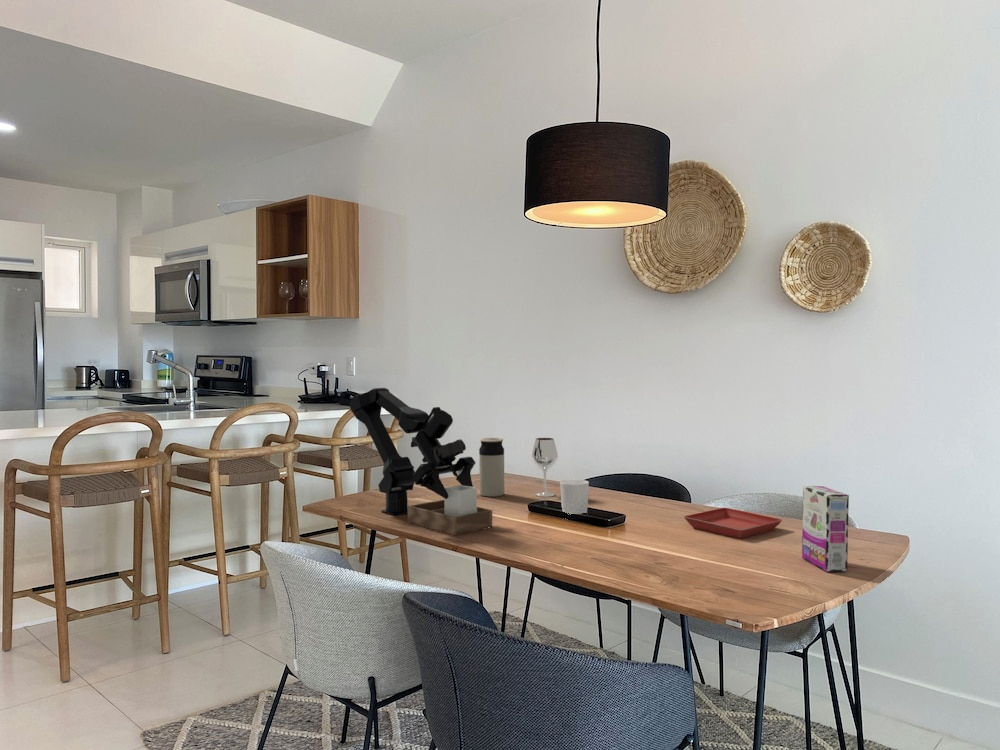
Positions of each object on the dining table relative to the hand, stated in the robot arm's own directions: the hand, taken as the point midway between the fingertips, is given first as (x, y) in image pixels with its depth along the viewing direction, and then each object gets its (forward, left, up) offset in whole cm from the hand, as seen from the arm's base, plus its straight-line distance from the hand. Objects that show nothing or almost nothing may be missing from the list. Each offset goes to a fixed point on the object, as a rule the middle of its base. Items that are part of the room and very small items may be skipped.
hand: (460, 495), depth 201 cm
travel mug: (-27, +35, -9) cm, 46 cm away
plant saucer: (+50, +50, -9) cm, 72 cm away
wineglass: (-15, +47, -9) cm, 51 cm away
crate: (-5, 0, -9) cm, 10 cm away
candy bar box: (+81, +35, -9) cm, 89 cm away
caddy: (0, 0, -8) cm, 8 cm away
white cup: (+13, +30, -9) cm, 34 cm away
